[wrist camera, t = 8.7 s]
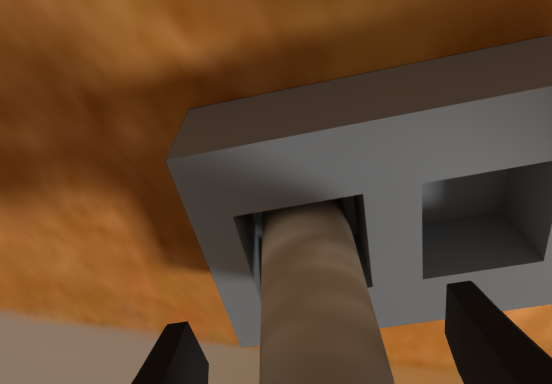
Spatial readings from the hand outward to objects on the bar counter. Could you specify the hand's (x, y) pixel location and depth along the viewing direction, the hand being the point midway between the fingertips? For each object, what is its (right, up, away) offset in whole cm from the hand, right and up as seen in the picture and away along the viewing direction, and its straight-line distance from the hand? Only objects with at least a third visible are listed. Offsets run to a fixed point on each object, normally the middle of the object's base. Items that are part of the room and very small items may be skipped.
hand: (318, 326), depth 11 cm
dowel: (0, +3, +5) cm, 6 cm away
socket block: (+3, +4, +6) cm, 8 cm away
